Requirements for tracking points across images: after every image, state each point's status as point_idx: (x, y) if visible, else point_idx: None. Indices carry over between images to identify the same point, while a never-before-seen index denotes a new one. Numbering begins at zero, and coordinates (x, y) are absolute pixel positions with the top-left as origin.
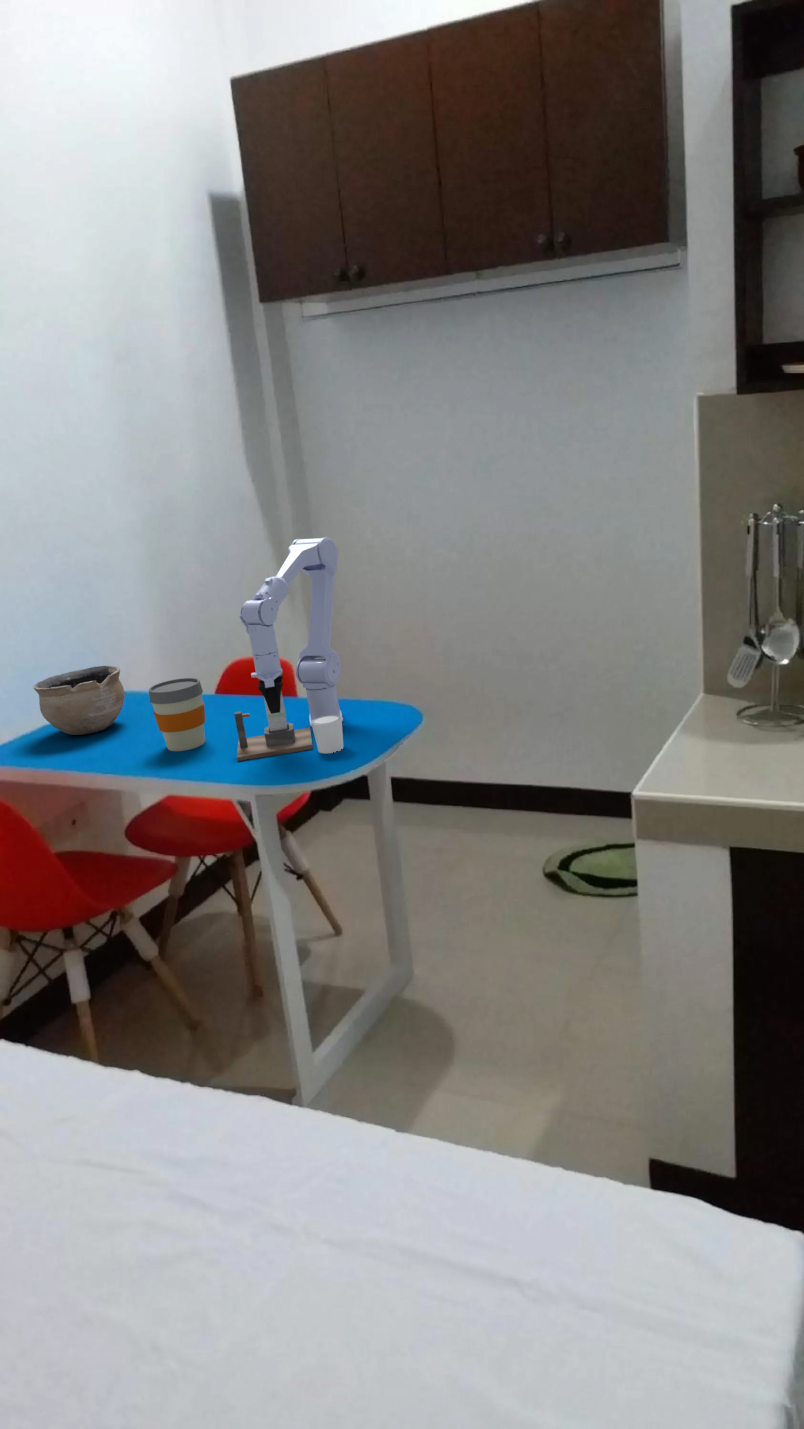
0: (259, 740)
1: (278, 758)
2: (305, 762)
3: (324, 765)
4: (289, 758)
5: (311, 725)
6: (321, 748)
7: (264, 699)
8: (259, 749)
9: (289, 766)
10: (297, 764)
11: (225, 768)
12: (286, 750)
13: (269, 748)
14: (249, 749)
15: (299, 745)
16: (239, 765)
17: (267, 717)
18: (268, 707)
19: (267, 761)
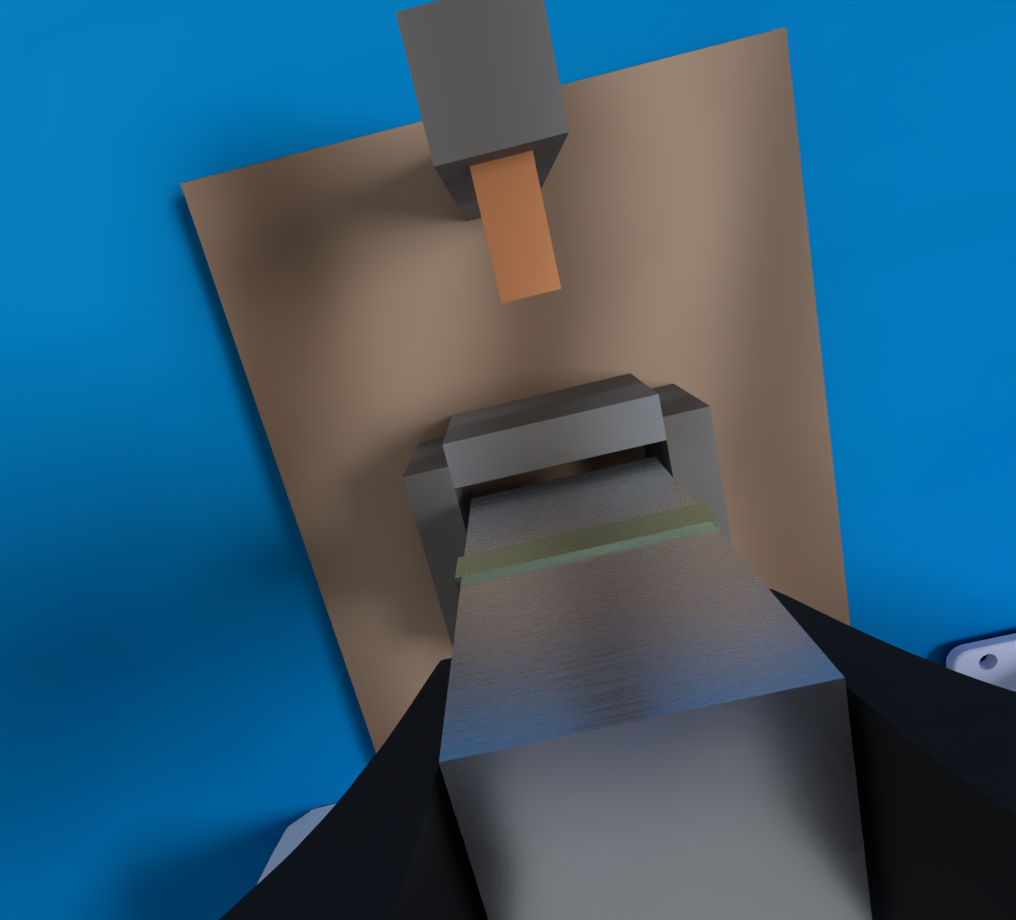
0: (651, 296)
1: (225, 551)
2: (105, 764)
3: (32, 888)
4: (210, 636)
5: (953, 663)
6: (267, 865)
7: (444, 753)
8: (370, 368)
9: (30, 674)
10: (68, 720)
11: (20, 114)
12: (329, 603)
13: (377, 458)
14: (391, 262)
15: (392, 694)
16: (91, 242)
17: (459, 571)
18: (409, 708)
19: (164, 478)
